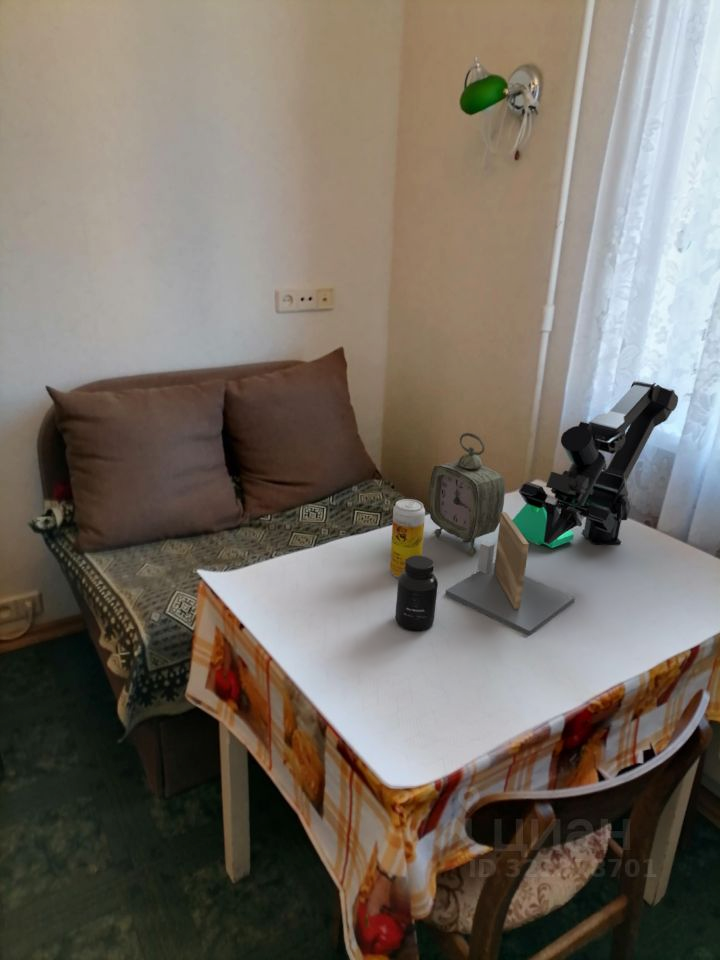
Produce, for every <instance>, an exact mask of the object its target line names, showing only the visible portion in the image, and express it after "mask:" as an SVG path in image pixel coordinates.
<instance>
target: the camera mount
mask: <svg viewBox="0 0 720 960" xmlns="http://www.w3.org/2000/svg"><path fill="white" fill-rule="evenodd" d="M512 521H513V522H514V524H515V525H516V527H517V528H518V529H519V531H520V532H521V534H522V535H523V536H524V538H525V539H526V541H529V542H532V543H533V544H535V545H537V546H540V545H543V544H544V545H545V546H548V547H549V548H552V549H554V548H556V547H559V546H562V545H564V544H566V543H570V542H572V541H574V535H575V532H573V531H572V530H571V529H570V530H569V531H567V532H565V533H564V534H562V535H561V536H560V537H558V538H557V539H555V540H554V541H553V542H551V543H550V544H546V543H545V542H544V536H545V529H546V521H547V512H546V510H545V509H544V507H542V508H537V507H534V506H531V505H529V504H527V503H526V502H525V504H524V505H523V507H522V508H521V509H520V511H519V512H518V513H517V514H516V515H515V516H514V517H513V519H512Z"/></svg>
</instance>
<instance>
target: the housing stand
mask: <svg viewBox="0 0 720 960" xmlns="http://www.w3.org/2000/svg"><path fill="white" fill-rule="evenodd" d="M495 546H496V544H495V542H492V541H489V540H484V541H482V542H480V546H479V554H478V556H479V557H478V564H477V571H476V572H475V573H473V574H471V575H469V576H468V577H466V578H465V579H463V580H461V581H459V582H457V583H456V584H454V585H452V586H451V587H449V588H447V589H445V596H447V597H449V598H451V599H453V600H455V601H457V602H459V603H462V604H463V605H465V606H467V607H470V609H471V608H472V609H474V610H475V611H477V612H479V613H481V614H483V615H486V616H487V617H490V618H492V619H494V620H495V621H498V622H500V623H502V624H504V625H506V626H508V627H510V628H512V629H514V630H516V631H518V632H520V633H522V634H524V635H526V636H528V637H530V636H531V635H532V634H533V633H535V632H536V631H537V630H539V629H540V628H541V627H543V626H544V625H545V624H547V623H548V622H550V621H551V620H552V619H554V618H555V617H556V616H558V614H561V613H562V611H564V610H565V609H567V608H568V607H570V606H571V605H572V604H574V603H575V600H576V597H575V596H573V595H571V594H568V593H567V592H564V591H562V590H560V589H557V588H555V587H552V586H549V585H548V584H545V583H542V582H541V581H538V580H535V579H533V578H532V577H529V576H527V575H524V582H523V589H522V596H521V604H520V609H514V607H513V605H512V604H511V602H510V600H509V598H508V596H507V595H506V593H505V591H504V589H503V587H502V586H501V584H500V582H499V580H498V578H497V577H496V575H495V573H494V567H495V562H493V561H494V554H495Z"/></svg>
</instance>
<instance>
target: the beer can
mask: <svg viewBox="0 0 720 960" xmlns="http://www.w3.org/2000/svg"><path fill="white" fill-rule="evenodd" d="M423 503H424V502H423ZM423 503H422V502H421V501H419V500H417V499H414V498H413V499H412V498H405V499H400V500H398V501H396V502H395V505H394V506H393V508H392V509H393V511H392V512H393V513H392V526H391V543H390V544H391V545H390V561H389V562H390V564H389V570H390V572H391V573H392V575H393V576H394V577H395V578H396V579H399V576H400V575H401V573H402V572H404V571H405V564H406V560H407V558H409V557H411V556H423V543H424V530H425V520H426V519H425V518H426V517H425V515H426V509H425V507H424V504H423Z"/></svg>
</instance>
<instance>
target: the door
mask: <svg viewBox="0 0 720 960" xmlns="http://www.w3.org/2000/svg"><path fill="white" fill-rule="evenodd" d="M512 520H513V519H512V518H511V517H510V515H509V514H508V512H506V511H502V512H501V517H500V523H499V525H498V526H499V527H498V534H497V542H496V543H497V544H496V552H495V559H494V563H495V567H494V573H495V575H496V577H497V578H498V580H499V582H500V584H501V586H502V587H503V589H504V591H505V593H506V595H507V596H508V598H509V600H510V602H511V604H512V605H513V607H514V609H520V604H521V596H522V589H523V582H524V576H526V575H525V574H526V567H527V560H528V554H529V546H530V545H529V544H530V543H529V542H528V540H527V539H526V538H524V536H523V533H521V532H520V531H519V529H518V528H517V527H516V525H515V524H514V522H513V521H512Z"/></svg>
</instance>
